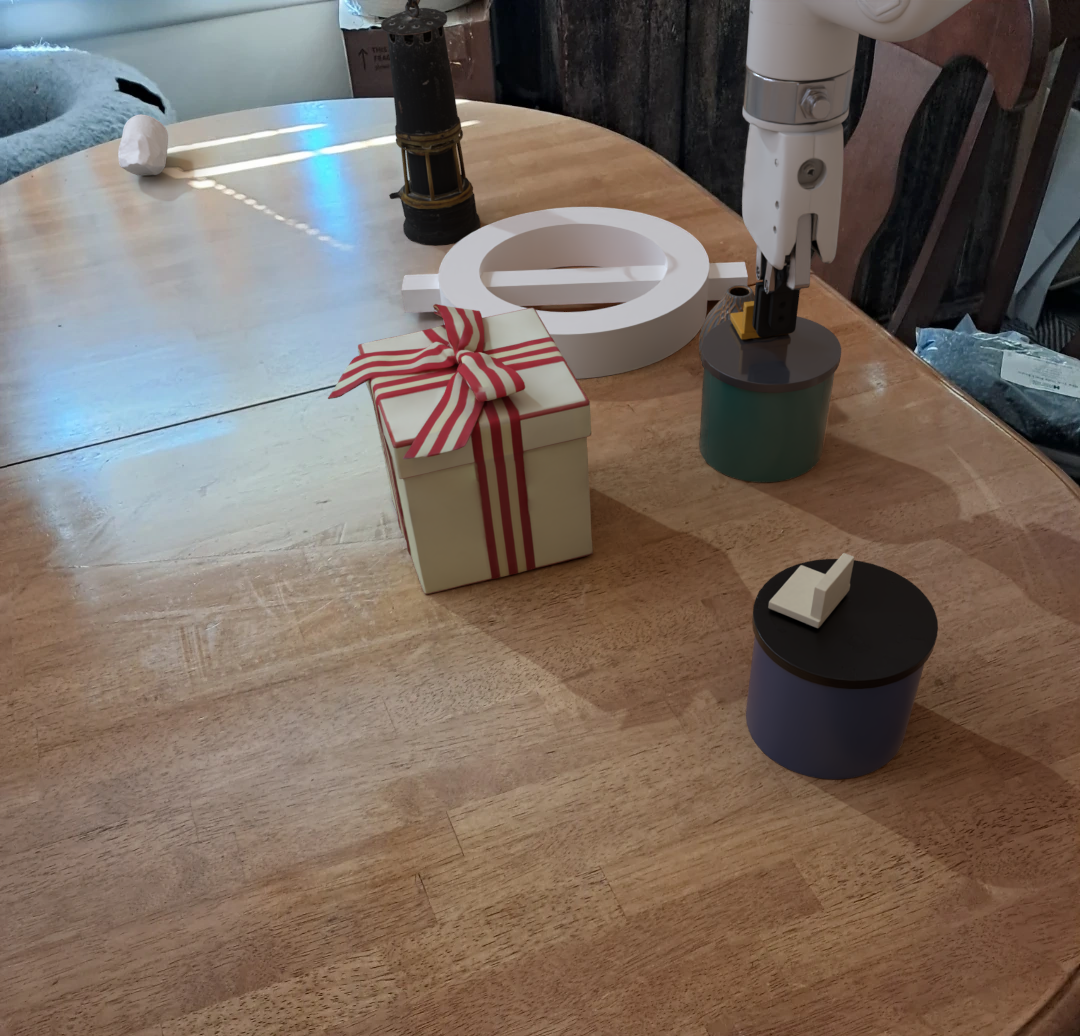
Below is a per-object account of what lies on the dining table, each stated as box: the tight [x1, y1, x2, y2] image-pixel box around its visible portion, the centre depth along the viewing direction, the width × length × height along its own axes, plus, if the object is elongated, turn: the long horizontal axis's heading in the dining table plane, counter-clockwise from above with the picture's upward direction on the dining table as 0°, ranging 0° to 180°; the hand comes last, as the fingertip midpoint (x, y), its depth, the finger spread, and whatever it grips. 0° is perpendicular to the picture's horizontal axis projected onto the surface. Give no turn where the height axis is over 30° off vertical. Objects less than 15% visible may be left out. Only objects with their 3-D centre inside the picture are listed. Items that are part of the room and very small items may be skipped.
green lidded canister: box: [698, 315, 842, 483], centre depth 100 cm, size 12×12×10 cm
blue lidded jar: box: [745, 558, 939, 780], centre depth 77 cm, size 12×12×10 cm
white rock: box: [117, 114, 169, 176], centre depth 151 cm, size 6×12×6 cm, turn 10°
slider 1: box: [730, 301, 791, 340], centre depth 98 cm, size 4×4×3 cm
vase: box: [698, 285, 755, 369], centre depth 109 cm, size 7×7×9 cm
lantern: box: [380, 0, 481, 246], centre depth 127 cm, size 9×9×30 cm
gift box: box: [327, 304, 594, 595], centre depth 91 cm, size 17×18×17 cm
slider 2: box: [768, 552, 855, 628], centre depth 74 cm, size 4×4×3 cm
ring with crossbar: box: [401, 206, 749, 380], centre depth 121 cm, size 28×28×5 cm
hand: (773, 330), depth 95 cm, fingers closed
